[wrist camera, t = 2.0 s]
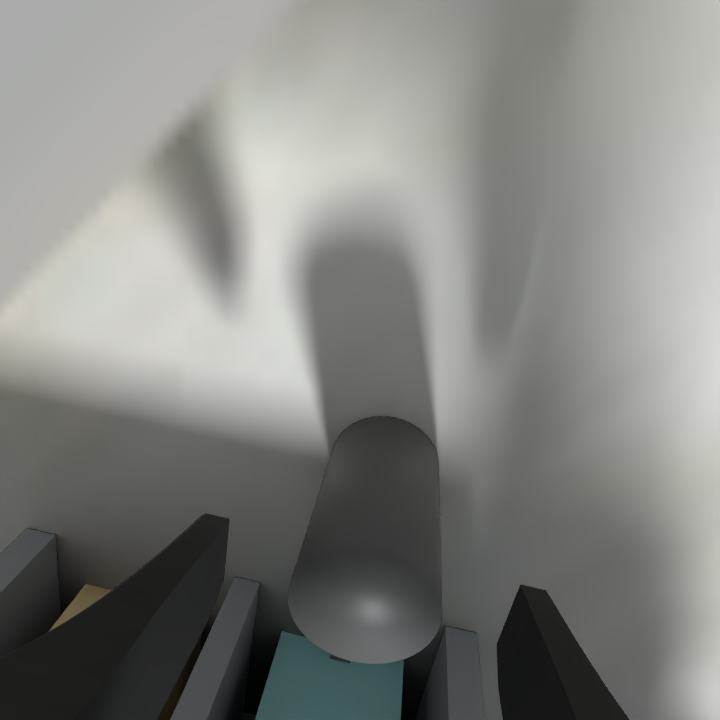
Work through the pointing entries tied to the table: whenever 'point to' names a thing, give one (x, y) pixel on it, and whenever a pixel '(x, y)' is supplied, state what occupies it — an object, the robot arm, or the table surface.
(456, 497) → the table surface
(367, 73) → the table surface
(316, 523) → the block
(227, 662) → the cubby shelf
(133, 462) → the table surface
